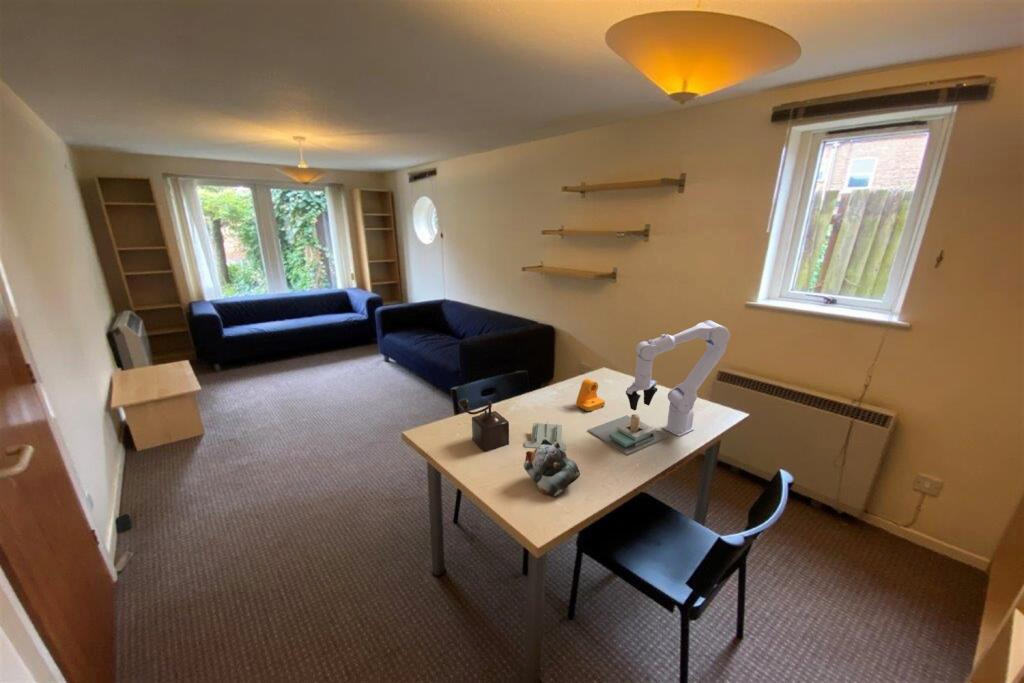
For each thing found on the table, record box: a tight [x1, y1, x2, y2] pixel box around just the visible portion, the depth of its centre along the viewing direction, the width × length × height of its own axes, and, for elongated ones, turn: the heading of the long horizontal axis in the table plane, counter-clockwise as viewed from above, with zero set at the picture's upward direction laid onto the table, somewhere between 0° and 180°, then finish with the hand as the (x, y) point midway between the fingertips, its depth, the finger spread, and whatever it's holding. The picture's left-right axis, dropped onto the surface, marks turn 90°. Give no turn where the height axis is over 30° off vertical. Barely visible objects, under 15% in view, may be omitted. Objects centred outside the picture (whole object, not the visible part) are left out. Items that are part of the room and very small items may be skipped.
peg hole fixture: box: [609, 421, 656, 447], centre depth 146 cm, size 15×9×4 cm, turn 123°
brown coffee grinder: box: [458, 397, 510, 453], centre depth 143 cm, size 16×11×18 cm
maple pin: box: [630, 414, 641, 433], centre depth 146 cm, size 3×3×9 cm
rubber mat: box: [587, 414, 669, 456], centre depth 151 cm, size 22×20×1 cm
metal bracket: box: [524, 420, 568, 452], centre depth 147 cm, size 14×6×15 cm
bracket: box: [575, 378, 606, 412], centre depth 172 cm, size 11×7×12 cm, turn 124°
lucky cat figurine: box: [522, 439, 581, 497], centre depth 122 cm, size 15×12×14 cm
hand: (640, 406), depth 152 cm, fingers open, 7 cm apart
